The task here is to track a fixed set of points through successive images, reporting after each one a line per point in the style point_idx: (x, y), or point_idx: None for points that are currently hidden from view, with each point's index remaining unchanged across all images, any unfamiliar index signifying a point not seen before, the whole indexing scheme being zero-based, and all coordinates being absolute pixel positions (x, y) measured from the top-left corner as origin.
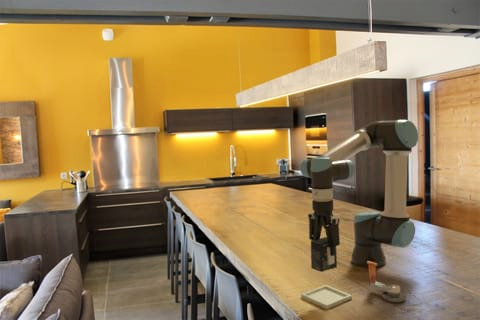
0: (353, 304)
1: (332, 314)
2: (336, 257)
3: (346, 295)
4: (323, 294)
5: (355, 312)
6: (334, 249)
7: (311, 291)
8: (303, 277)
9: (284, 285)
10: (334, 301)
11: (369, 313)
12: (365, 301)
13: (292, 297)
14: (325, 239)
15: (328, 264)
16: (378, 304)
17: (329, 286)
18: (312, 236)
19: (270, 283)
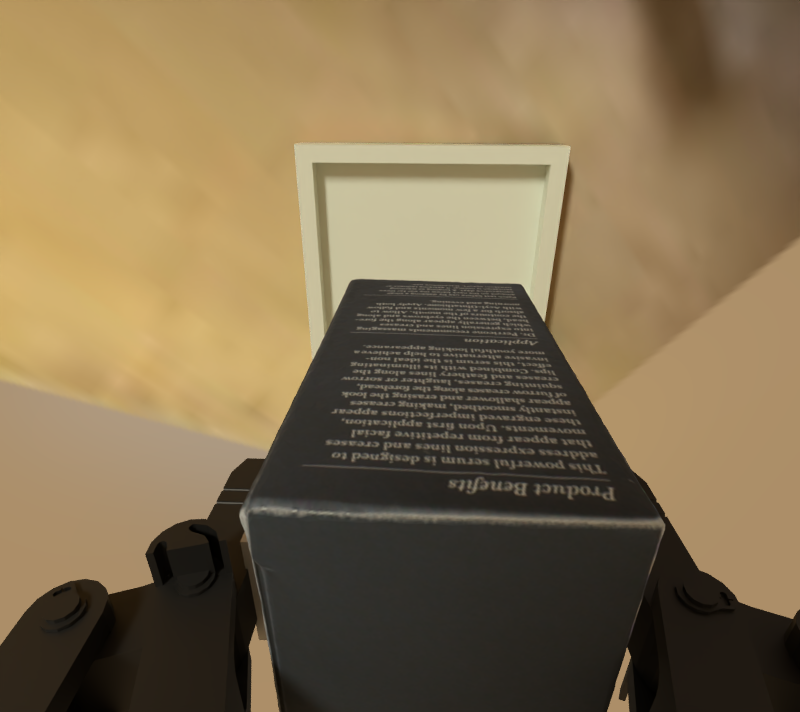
0: (617, 207)
1: (589, 393)
2: (550, 333)
3: (528, 164)
4: (386, 258)
5: (684, 287)
6: (675, 554)
7: (322, 310)
8: (12, 110)
9: (100, 325)
10: None
11: (766, 234)
12: (664, 96)
13: (286, 402)
14: (443, 667)
15: None
16: (772, 60)
17: (336, 146)
18: (80, 707)
19: (28, 367)
